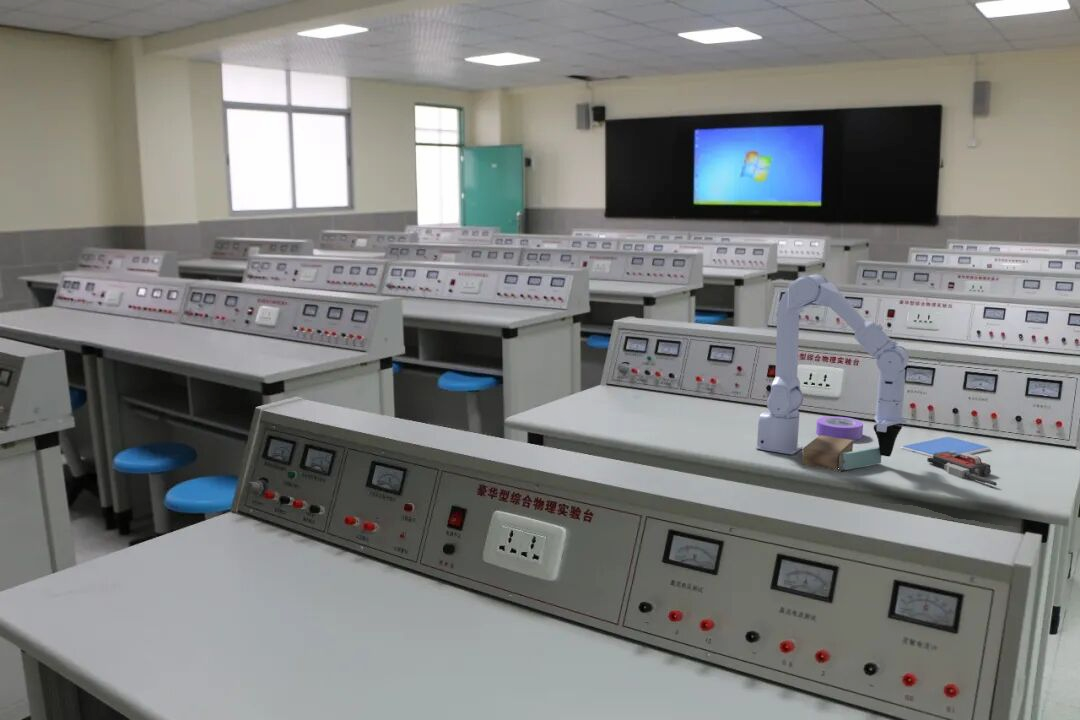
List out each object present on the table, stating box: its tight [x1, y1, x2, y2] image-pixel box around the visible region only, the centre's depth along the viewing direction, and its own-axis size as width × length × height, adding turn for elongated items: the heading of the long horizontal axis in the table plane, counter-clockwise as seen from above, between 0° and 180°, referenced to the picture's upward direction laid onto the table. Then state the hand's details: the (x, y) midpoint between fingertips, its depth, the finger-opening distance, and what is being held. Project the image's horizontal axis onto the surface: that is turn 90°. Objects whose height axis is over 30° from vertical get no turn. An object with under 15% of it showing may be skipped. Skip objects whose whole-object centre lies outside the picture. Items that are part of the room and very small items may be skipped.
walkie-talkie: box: [927, 451, 997, 486], centre depth 200 cm, size 9×4×20 cm
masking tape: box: [815, 415, 864, 441], centre depth 234 cm, size 12×12×4 cm
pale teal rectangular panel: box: [842, 446, 882, 471], centre depth 204 cm, size 13×1×4 cm, turn 119°
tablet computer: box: [900, 436, 991, 458], centre depth 221 cm, size 19×13×1 cm, turn 120°
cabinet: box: [801, 435, 854, 472], centre depth 209 cm, size 9×15×4 cm, turn 147°
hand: (885, 455), depth 205 cm, fingers closed
